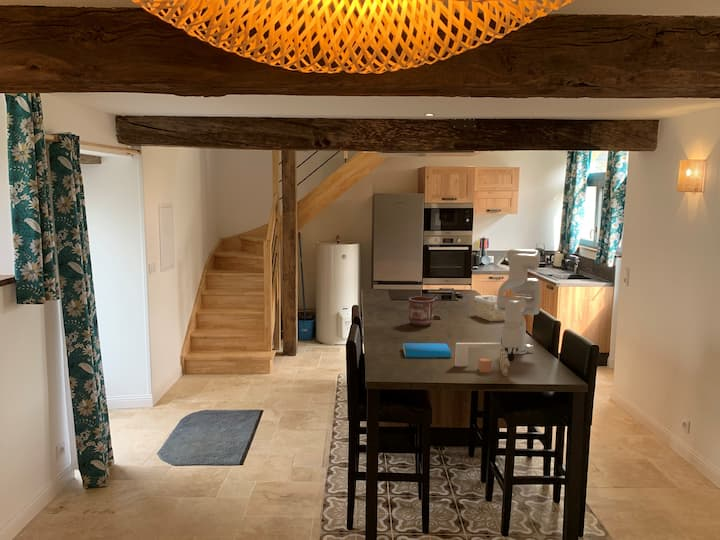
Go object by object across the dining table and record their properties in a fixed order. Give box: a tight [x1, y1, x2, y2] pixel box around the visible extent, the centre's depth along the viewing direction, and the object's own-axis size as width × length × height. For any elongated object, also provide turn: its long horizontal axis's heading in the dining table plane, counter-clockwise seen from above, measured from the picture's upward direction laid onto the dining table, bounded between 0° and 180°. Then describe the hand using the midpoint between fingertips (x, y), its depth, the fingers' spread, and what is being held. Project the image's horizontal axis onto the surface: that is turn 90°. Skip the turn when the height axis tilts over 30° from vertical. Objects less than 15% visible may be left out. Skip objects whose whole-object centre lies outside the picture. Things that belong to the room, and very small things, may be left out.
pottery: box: [408, 296, 436, 328], centre depth 391 cm, size 18×18×18 cm
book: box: [402, 342, 452, 358], centre depth 323 cm, size 17×4×25 cm
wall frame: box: [454, 342, 511, 367], centre depth 300 cm, size 28×2×12 cm, turn 92°
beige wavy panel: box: [499, 348, 509, 377], centre depth 291 cm, size 18×2×10 cm, turn 174°
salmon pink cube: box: [477, 357, 492, 373], centre depth 292 cm, size 5×6×6 cm
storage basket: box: [473, 294, 505, 322], centre depth 415 cm, size 24×16×15 cm
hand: (510, 360), depth 287 cm, fingers closed
